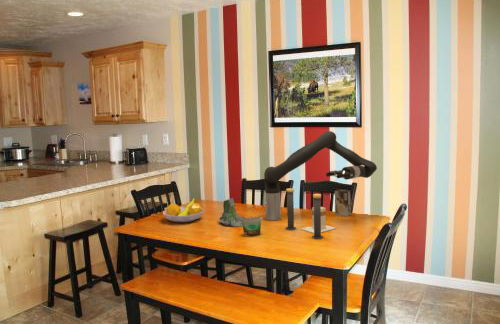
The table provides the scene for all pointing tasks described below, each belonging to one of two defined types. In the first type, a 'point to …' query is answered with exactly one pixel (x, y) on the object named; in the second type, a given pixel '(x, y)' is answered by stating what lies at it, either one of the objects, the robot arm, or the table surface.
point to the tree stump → (230, 215)
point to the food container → (251, 226)
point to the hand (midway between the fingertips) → (331, 175)
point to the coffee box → (342, 203)
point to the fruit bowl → (183, 212)
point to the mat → (321, 230)
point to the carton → (323, 218)
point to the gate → (316, 213)
